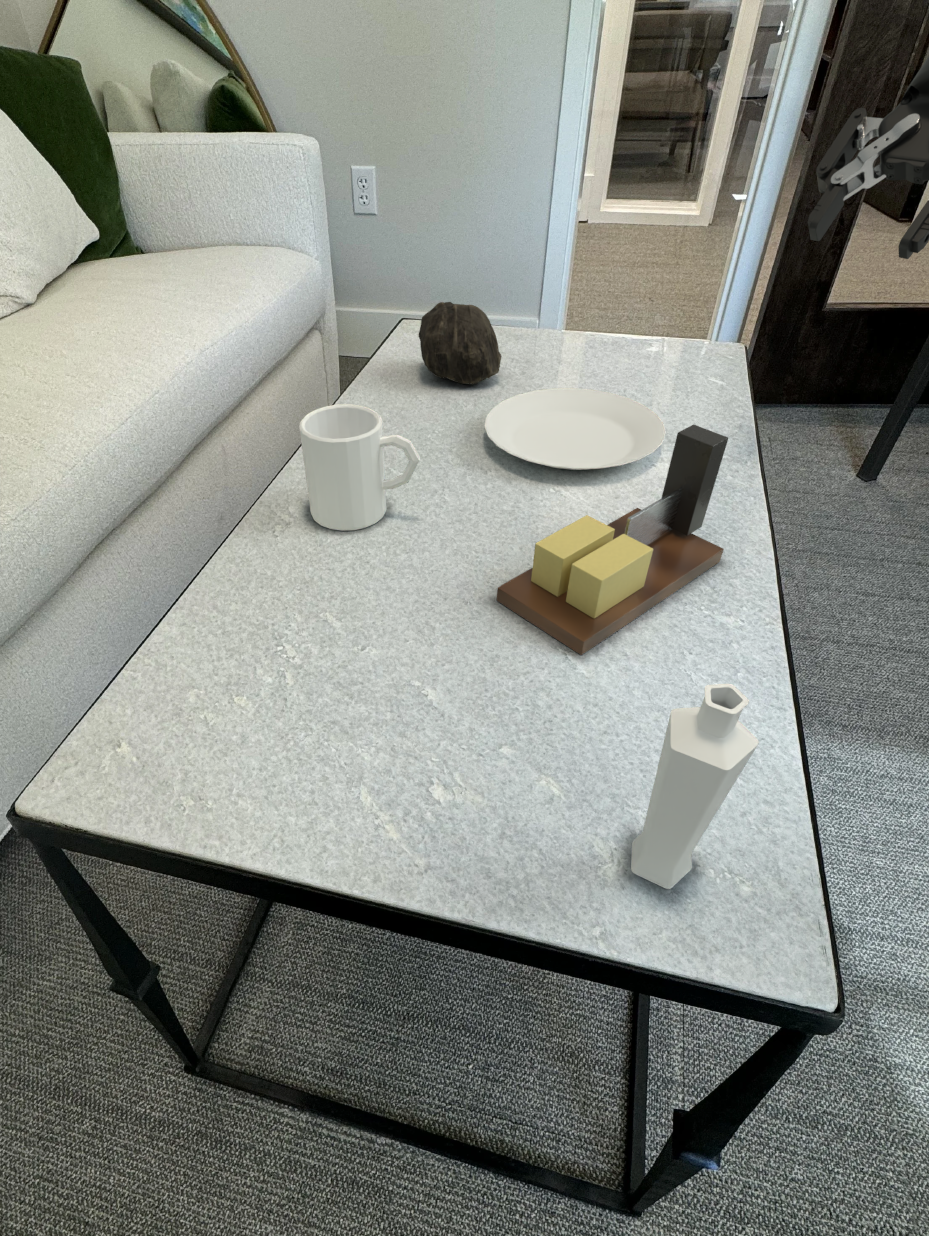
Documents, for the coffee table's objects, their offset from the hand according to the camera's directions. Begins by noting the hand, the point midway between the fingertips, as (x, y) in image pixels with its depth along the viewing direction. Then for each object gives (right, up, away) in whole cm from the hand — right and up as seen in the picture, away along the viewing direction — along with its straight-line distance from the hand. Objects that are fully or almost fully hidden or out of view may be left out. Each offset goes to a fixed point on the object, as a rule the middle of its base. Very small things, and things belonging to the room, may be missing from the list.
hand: (856, 243), depth 63 cm
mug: (-44, -20, +14) cm, 50 cm away
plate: (-20, -9, +24) cm, 32 cm away
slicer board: (-20, -29, +4) cm, 36 cm away
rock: (-32, +5, +38) cm, 50 cm away
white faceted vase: (-23, -50, -17) cm, 58 cm away
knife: (-16, -25, +5) cm, 30 cm away
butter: (-23, -30, +2) cm, 38 cm away
